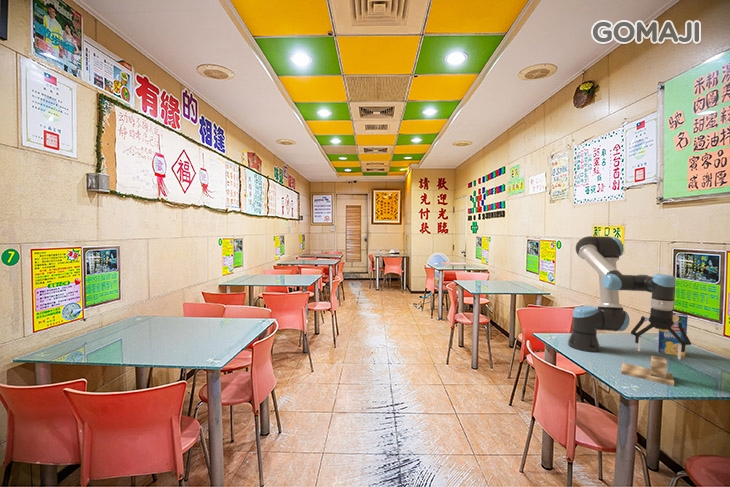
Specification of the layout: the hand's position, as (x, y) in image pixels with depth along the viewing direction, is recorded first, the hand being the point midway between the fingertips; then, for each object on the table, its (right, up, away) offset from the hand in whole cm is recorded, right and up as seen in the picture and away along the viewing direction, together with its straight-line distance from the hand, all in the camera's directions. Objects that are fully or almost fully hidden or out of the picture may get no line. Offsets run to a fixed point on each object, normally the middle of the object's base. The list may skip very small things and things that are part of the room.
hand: (658, 354), depth 148 cm
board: (-3, -11, +2) cm, 11 cm away
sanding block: (0, -9, 0) cm, 9 cm away
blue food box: (+36, -10, +32) cm, 49 cm away
